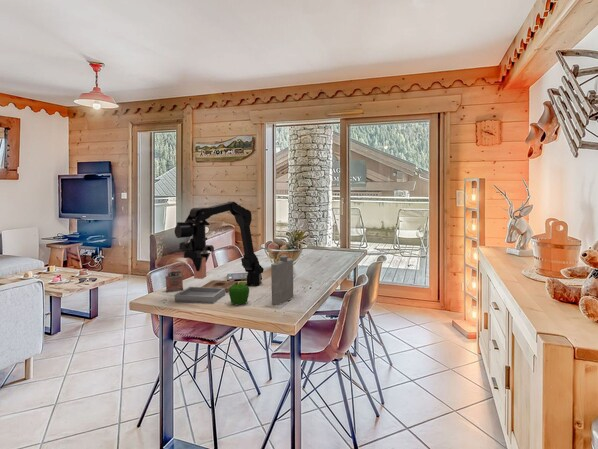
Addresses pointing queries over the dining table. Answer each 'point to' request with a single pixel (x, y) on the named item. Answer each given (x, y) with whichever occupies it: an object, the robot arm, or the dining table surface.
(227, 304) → the dining table surface
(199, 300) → the tray
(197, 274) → the brown tall block
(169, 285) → the lighter
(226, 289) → the socket block
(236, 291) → the bell pepper
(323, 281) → the dining table surface
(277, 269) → the hip flask
